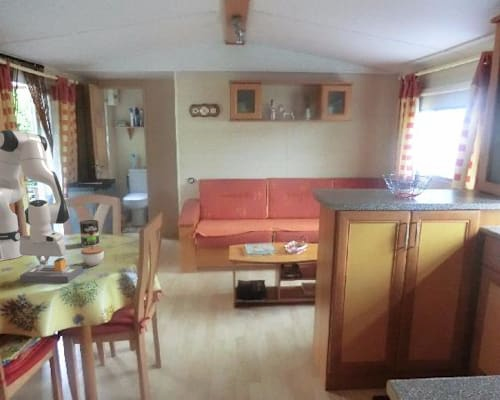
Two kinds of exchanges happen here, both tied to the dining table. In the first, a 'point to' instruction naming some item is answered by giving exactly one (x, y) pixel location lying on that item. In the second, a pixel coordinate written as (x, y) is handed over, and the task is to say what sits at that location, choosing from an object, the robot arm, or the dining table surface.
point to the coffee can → (89, 233)
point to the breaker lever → (59, 264)
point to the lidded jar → (92, 255)
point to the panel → (51, 274)
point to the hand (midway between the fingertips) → (43, 264)
